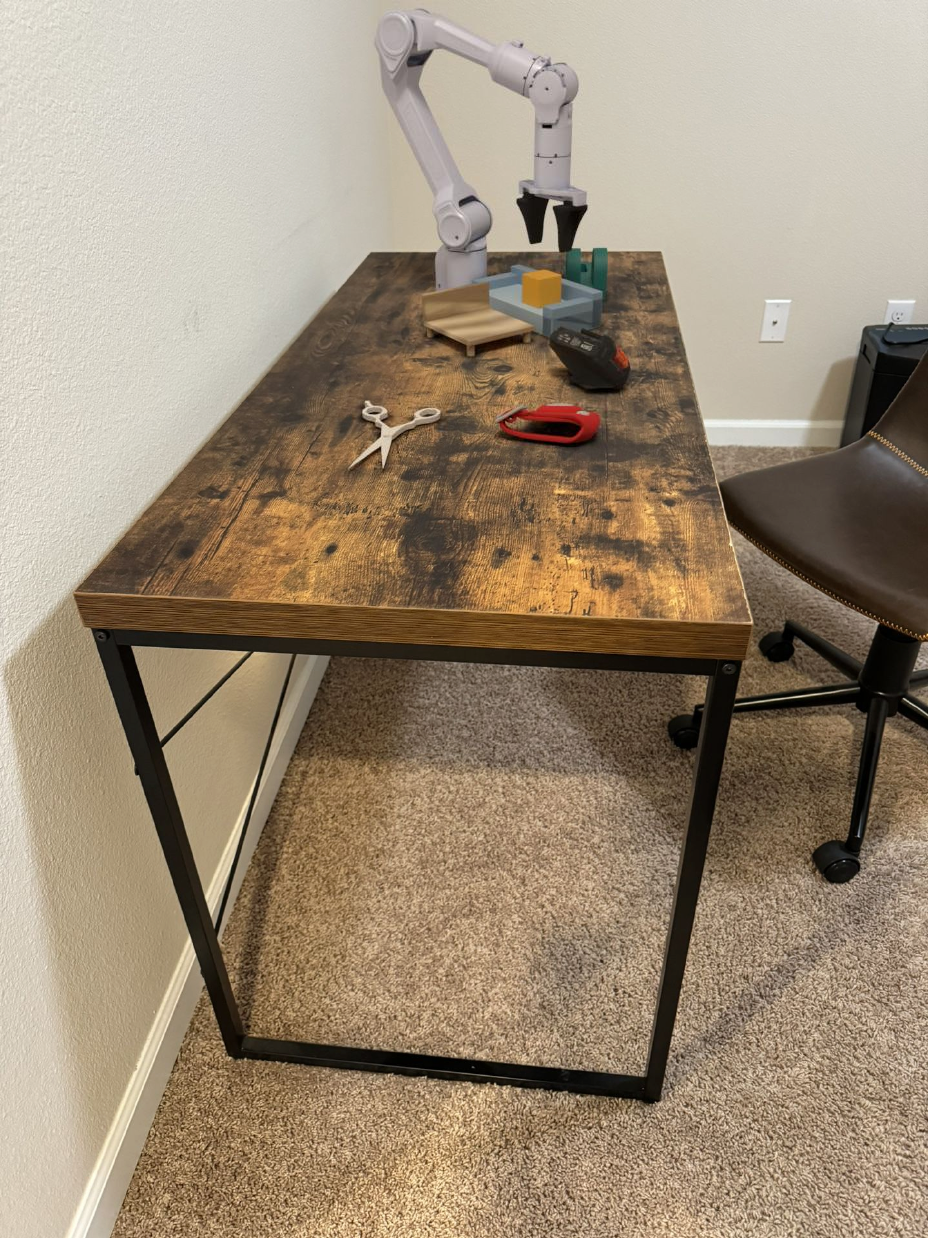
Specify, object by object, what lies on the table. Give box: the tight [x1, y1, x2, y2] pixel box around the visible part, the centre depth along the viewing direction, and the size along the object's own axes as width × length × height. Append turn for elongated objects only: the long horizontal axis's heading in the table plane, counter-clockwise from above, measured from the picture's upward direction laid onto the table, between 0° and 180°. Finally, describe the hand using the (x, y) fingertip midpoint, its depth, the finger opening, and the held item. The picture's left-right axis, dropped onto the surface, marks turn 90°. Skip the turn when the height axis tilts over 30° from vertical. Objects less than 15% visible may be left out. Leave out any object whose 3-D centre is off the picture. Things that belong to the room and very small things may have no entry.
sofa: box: [472, 263, 603, 339], centre depth 150 cm, size 22×10×6 cm, turn 33°
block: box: [522, 269, 563, 309], centre depth 146 cm, size 4×4×4 cm
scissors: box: [348, 400, 441, 469], centre depth 112 cm, size 11×1×20 cm
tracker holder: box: [494, 402, 601, 444], centre depth 111 cm, size 12×4×10 cm
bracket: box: [562, 247, 609, 302], centre depth 163 cm, size 18×7×8 cm, turn 177°
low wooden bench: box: [421, 281, 534, 358], centre depth 141 cm, size 13×12×6 cm
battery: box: [548, 326, 632, 391], centre depth 124 cm, size 12×8×7 cm
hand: (550, 247), depth 149 cm, fingers open, 7 cm apart
